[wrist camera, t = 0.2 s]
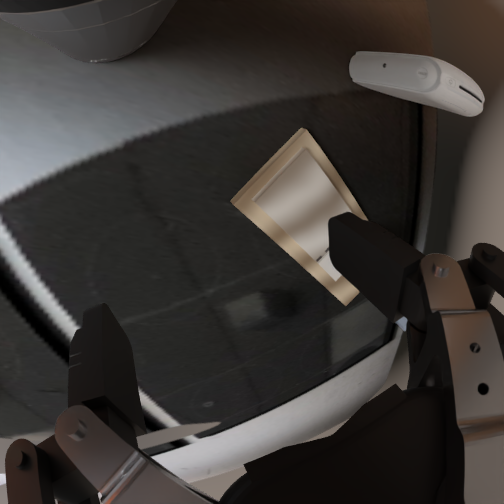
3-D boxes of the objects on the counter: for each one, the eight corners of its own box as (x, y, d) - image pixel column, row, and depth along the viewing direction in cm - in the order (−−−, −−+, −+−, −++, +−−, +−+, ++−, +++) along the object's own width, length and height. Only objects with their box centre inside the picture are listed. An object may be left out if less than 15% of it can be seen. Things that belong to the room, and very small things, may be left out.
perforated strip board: (230, 201, 29) (237, 208, 27) (301, 127, 27) (312, 131, 26) (342, 302, 45) (349, 309, 43) (385, 255, 44) (394, 261, 42)
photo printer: (344, 83, 26) (445, 103, 17) (349, 46, 24) (450, 53, 15) (404, 101, 30) (489, 127, 21) (409, 70, 28) (495, 90, 19)
